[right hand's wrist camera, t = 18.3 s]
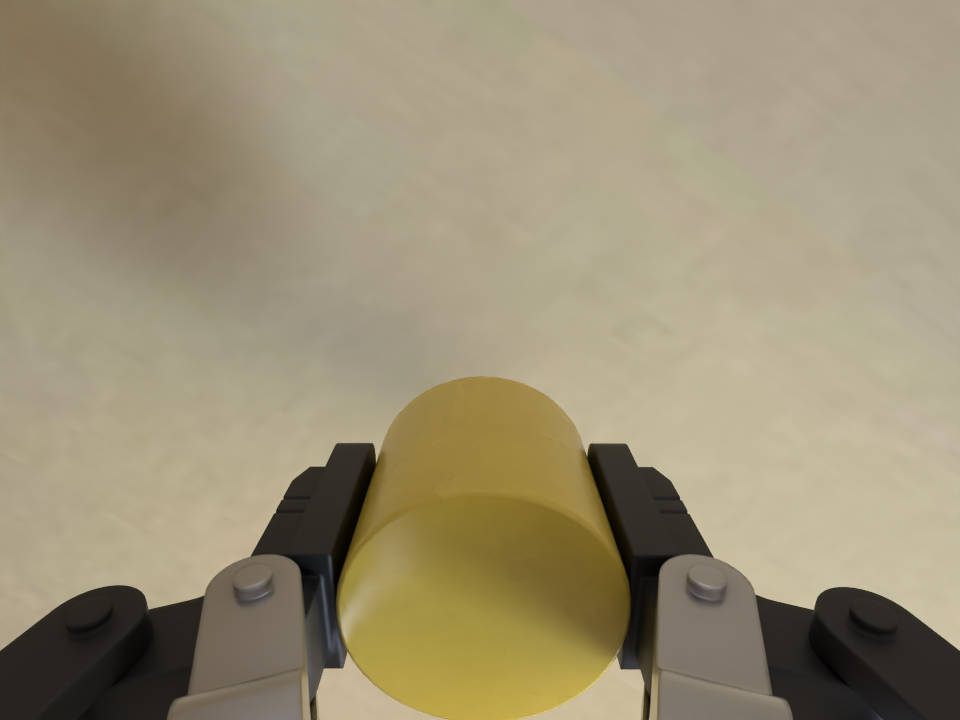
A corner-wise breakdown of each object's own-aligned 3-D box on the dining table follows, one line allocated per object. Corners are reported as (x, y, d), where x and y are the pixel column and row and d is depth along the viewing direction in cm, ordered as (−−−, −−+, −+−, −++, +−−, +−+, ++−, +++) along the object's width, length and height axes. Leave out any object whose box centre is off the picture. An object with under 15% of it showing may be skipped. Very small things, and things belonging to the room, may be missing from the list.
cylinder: (354, 518, 13) (299, 680, 9) (420, 344, 12) (389, 447, 8) (535, 577, 14) (557, 753, 10) (620, 418, 12) (688, 550, 8)
